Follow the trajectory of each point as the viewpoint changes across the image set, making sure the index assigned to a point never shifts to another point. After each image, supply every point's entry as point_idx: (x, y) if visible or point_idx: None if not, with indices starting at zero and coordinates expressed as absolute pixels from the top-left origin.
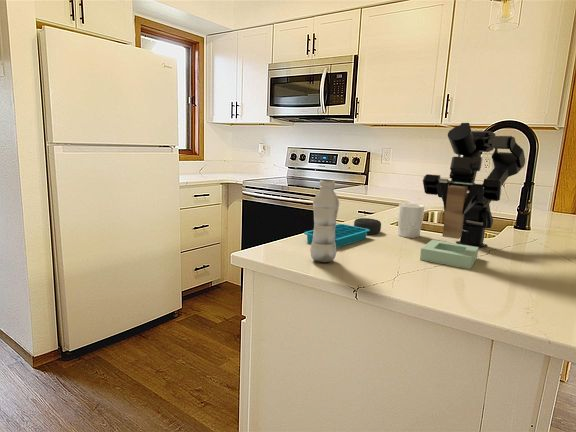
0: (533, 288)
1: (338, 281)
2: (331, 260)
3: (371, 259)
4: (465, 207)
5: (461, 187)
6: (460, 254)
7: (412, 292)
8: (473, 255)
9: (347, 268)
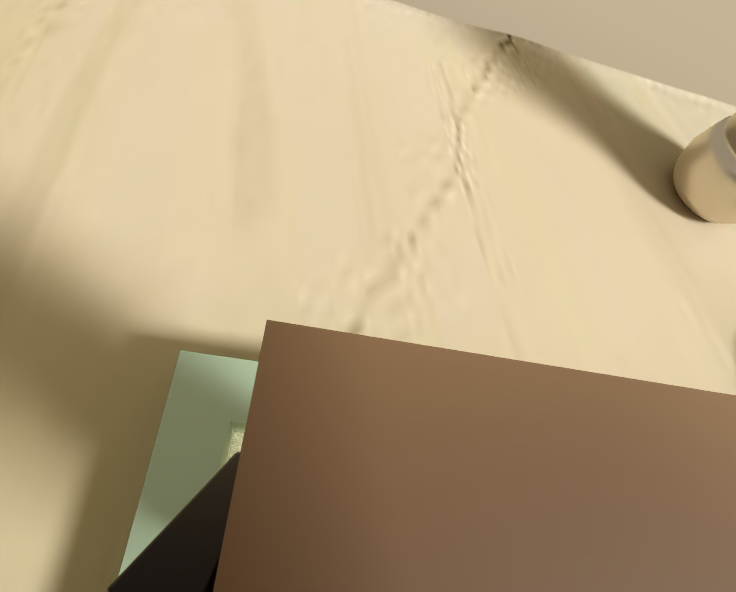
0: None
1: (567, 61)
2: (673, 173)
3: (600, 292)
4: (217, 487)
5: (394, 450)
6: (243, 381)
7: (383, 47)
8: (159, 430)
9: (606, 160)
